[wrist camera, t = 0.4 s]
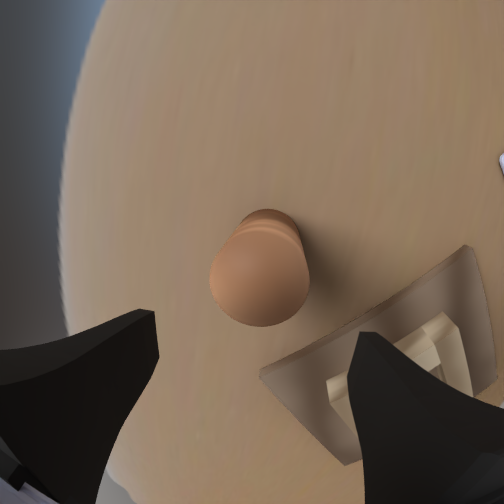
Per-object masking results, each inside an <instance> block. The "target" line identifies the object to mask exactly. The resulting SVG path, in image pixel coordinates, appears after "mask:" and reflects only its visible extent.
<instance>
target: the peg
mask: <svg viewBox="0 0 504 504" xmlns="http://www.w3.org/2000/svg"><path fill="white" fill-rule="evenodd" d="M309 286H310V277H309V271H308V267H307V263H306V259H305V255H304V251H303V247H302V243H301V239H300V235H299V232H298V229H297V227H296V225H295V223H294V222H293V221H292V220H291V219H290V218H289V217H288V216H287V215H286V214H284V213H282V212H280V211H277V210H273V209H262V210H258V211H255V212H253V213H251V214H249V215H248V216H247V217H246V218H245V219H244V220H243V221H242V222H241V223H240V225H239V226H238V227H237V229H236V230H235V231H234V233H233V234H232V235H231V237H230V238H229V239H228V240H227V242H226V243H225V244H224V246H223V247H222V248H221V250H220V251H219V252H218V254H217V255H216V257H215V259H214V261H213V263H212V266H211V270H210V287H211V291H212V294H213V297H214V299H215V301H216V302H217V304H218V305H219V307H220V308H221V309H222V310H223V311H224V312H225V313H226V314H227V315H228V316H230V317H231V318H233V319H234V320H236V321H238V322H240V323H243V324H246V325H250V326H257V327H264V326H272V325H276V324H279V323H282V322H284V321H286V320H287V319H289V318H291V317H292V316H293V315H294V314H295V313H297V311H298V310H299V309H300V308H301V307H302V305H303V304H304V302H305V300H306V298H307V295H308V292H309Z"/></svg>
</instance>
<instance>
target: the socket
mask: <svg viewBox="0 0 504 504" xmlns="http://www.w3.org/2000/svg"><path fill="white" fill-rule="evenodd" d="M359 331H364V332H377V333H378V334H380V335H381V336H383V337H384V338H385V339H386V340H388V341H389V342H390V343H391V344H393V345H394V346H395V347H396V348H398V349H399V350H400V351H401V352H403V353H404V354H405V355H406V356H408V357H409V358H410V359H411V360H413V361H414V362H415V363H417V364H418V365H419V366H421V367H422V368H423V369H425V370H426V371H428V372H429V373H431V374H432V375H433V376H435V377H436V378H438V379H439V380H441V381H443V382H444V383H446V384H448V385H450V386H451V387H453V388H455V389H457V390H458V391H460V392H462V393H464V394H466V395H469V396H471V397H473V398H474V397H475V396H476V395H478V394H479V393H480V392H482V391H483V390H484V389H486V388H487V387H488V386H489V385H491V384H492V383H493V382H494V381H496V380H497V371H496V360H495V351H494V343H493V336H492V329H491V323H490V318H489V312H488V307H487V302H486V298H485V293H484V289H483V285H482V281H481V277H480V273H479V269H478V266H477V262H476V259H475V255H474V252H473V249H472V248H471V247H469V246H467V245H464V246H463V247H461V248H460V249H459V250H457V251H456V252H455V253H453V254H452V255H451V256H450V257H448V258H447V259H446V260H444V261H443V262H442V263H440V264H439V265H437V266H436V267H435V268H433V269H432V270H431V271H429V272H428V273H426V274H425V275H424V276H422V277H421V278H419V279H418V280H416V281H415V282H413V283H412V284H411V285H409V286H408V287H406V288H405V289H403V290H402V291H400V292H399V293H397V294H396V295H394V296H392V297H391V298H389V299H388V300H386V301H385V302H383V303H381V304H380V305H378V306H377V307H375V308H373V309H372V310H370V311H369V312H367V313H365V314H364V315H362V316H360V317H359V318H357V319H355V320H354V321H352V322H350V323H348V324H347V325H345V326H343V327H342V328H340V329H338V330H336V331H334V332H333V333H331V334H329V335H327V336H325V337H324V338H322V339H320V340H318V341H316V342H314V343H312V344H311V345H309V346H307V347H305V348H303V349H301V350H299V351H297V352H295V353H293V354H291V355H289V356H287V357H285V358H283V359H281V360H279V361H277V362H275V363H273V364H271V365H269V366H267V367H264V368H262V369H260V373H259V379H260V380H261V381H262V382H263V383H264V384H265V385H266V386H267V387H268V389H269V390H270V391H271V392H272V393H273V394H274V395H275V396H276V397H277V398H278V399H279V401H280V402H281V403H282V404H283V405H284V406H285V407H286V408H287V409H288V410H289V411H290V412H291V413H292V414H293V415H294V416H295V417H296V419H297V420H298V421H299V422H300V423H301V424H302V425H303V426H304V427H305V428H306V429H307V430H308V431H309V432H310V433H311V434H312V435H313V436H314V437H315V438H316V439H317V440H318V441H319V442H320V443H321V444H322V445H323V446H324V447H325V448H326V449H327V450H328V451H329V452H330V453H332V454H333V455H334V456H335V457H336V458H337V459H338V460H339V461H340V462H341V463H342V464H343V465H344V466H346V465H349V464H351V463H354V462H356V461H359V460H361V459H363V458H362V452H361V447H360V443H359V439H358V434H357V430H356V426H355V422H354V418H353V414H352V410H351V406H350V402H349V394H348V385H347V374H348V371H349V367H350V364H351V361H352V357H353V354H354V350H355V346H356V343H357V339H358V335H359Z"/></svg>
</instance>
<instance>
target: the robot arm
mask: <svg viewBox="0 0 504 504" xmlns="http://www.w3.org/2000/svg"><path fill="white" fill-rule="evenodd" d="M499 160H500V165H501V168H502V171H503V173H504V153H503V154H502V155H501V156H500V159H499ZM158 359H159V350H158V341H157V333H156V323H155V313H154V311H150V310H144V309H137V310H134V311H131V312H128V313H126V314H124V315H121V316H119V317H117V318H114V319H112V320H110V321H107V322H105V323H103V324H100V325H98V326H96V327H93V328H91V329H88V330H85V331H83V332H80V333H78V334H75V335H72V336H70V337H67V338H64V339H60V340H57V341H53V342H49V343H45V344H41V345H36V346H30V347H24V348H19V349H8V350H0V504H95V502H96V498H97V494H98V490H99V486H100V483H101V480H102V476H103V473H104V470H105V467H106V464H107V462H108V459H109V456H110V453H111V451H112V448H113V446H114V443H115V441H116V439H117V436H118V434H119V432H120V429H121V428H122V426H123V424H124V422H125V420H126V418H127V417H128V415H129V413H130V412H131V410H132V408H133V407H134V405H135V404H136V402H137V400H138V399H139V397H140V395H141V394H142V392H143V390H144V389H145V387H146V385H147V384H148V382H149V380H150V379H151V376H152V374H153V372H154V369H155V367H156V364H157V362H158ZM347 385H348V394H349V402H350V406H351V410H352V414H353V418H354V422H355V426H356V430H357V434H358V439H359V443H360V447H361V452H362V458H363V469H364V485H365V504H504V409H502V408H499V407H496V406H493V405H490V404H488V403H485V402H482V401H480V400H478V399H475V398H473V397H471V396H469V395H466V394H464V393H462V392H460V391H458V390H457V389H455V388H453V387H451V386H450V385H448V384H446V383H444V382H443V381H441V380H439V379H438V378H436V377H435V376H433V375H432V374H431V373H429V372H428V371H426V370H425V369H423V368H422V367H421V366H419V365H418V364H417V363H415V362H414V361H413V360H411V359H410V358H409V357H408V356H406V355H405V354H404V353H403V352H401V351H400V350H399V349H398V348H396V347H395V346H394V345H393V344H391V343H390V342H389V341H388V340H386V339H385V338H384V337H383V336H381V335H380V334H378V333H377V332H364V331H359V335H358V339H357V343H356V346H355V350H354V354H353V357H352V361H351V364H350V367H349V371H348V374H347Z"/></svg>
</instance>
